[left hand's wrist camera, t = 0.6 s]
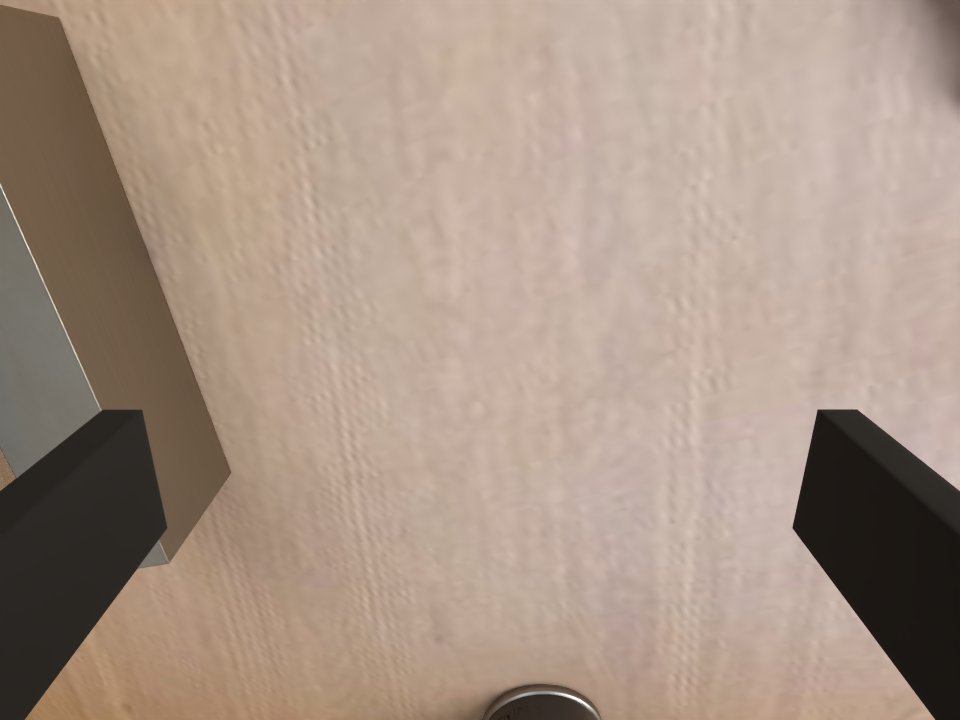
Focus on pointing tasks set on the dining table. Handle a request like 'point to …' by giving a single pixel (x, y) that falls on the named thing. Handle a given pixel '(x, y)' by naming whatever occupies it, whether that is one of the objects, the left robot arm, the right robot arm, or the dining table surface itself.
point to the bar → (84, 288)
